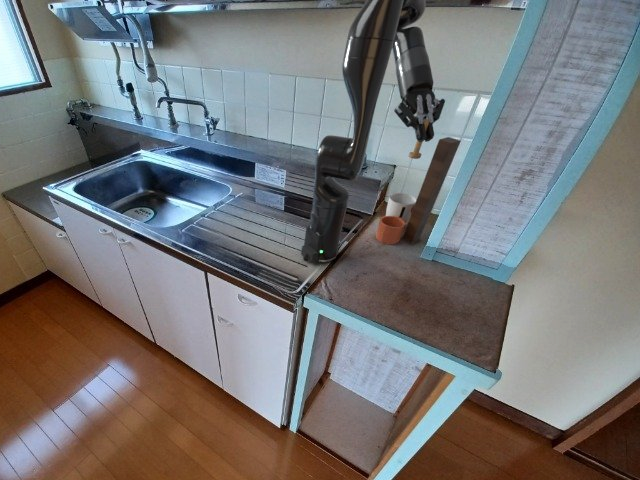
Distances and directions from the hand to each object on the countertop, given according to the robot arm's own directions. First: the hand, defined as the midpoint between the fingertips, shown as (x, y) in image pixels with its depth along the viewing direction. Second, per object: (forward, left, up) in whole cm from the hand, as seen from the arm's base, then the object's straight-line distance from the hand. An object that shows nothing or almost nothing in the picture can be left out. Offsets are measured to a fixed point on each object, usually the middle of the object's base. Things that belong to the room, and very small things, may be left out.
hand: (426, 140), depth 82 cm
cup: (+8, +6, -30) cm, 32 cm away
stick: (+1, +2, -5) cm, 5 cm away
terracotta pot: (+1, +2, -30) cm, 30 cm away
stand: (+6, -2, -30) cm, 31 cm away
